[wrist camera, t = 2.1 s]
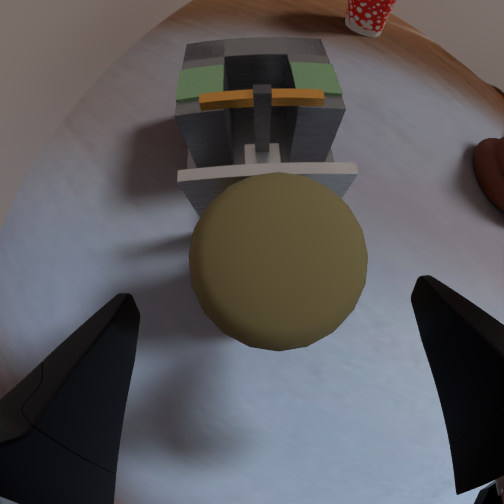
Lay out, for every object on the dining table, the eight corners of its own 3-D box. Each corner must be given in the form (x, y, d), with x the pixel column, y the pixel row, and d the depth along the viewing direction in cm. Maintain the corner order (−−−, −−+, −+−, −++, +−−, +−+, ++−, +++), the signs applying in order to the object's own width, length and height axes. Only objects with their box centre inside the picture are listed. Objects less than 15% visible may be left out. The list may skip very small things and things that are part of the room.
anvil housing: (331, 172, 19) (361, 108, 12) (189, 178, 19) (158, 116, 12) (317, 104, 20) (332, 38, 13) (194, 110, 20) (174, 44, 13)
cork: (201, 295, 17) (114, 273, 6) (258, 220, 18) (256, 106, 7) (278, 353, 16) (308, 422, 6) (334, 275, 17) (431, 226, 6)
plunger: (319, 228, 18) (361, 169, 10) (210, 234, 18) (174, 177, 10) (311, 167, 18) (338, 86, 11) (210, 171, 19) (183, 91, 11)
